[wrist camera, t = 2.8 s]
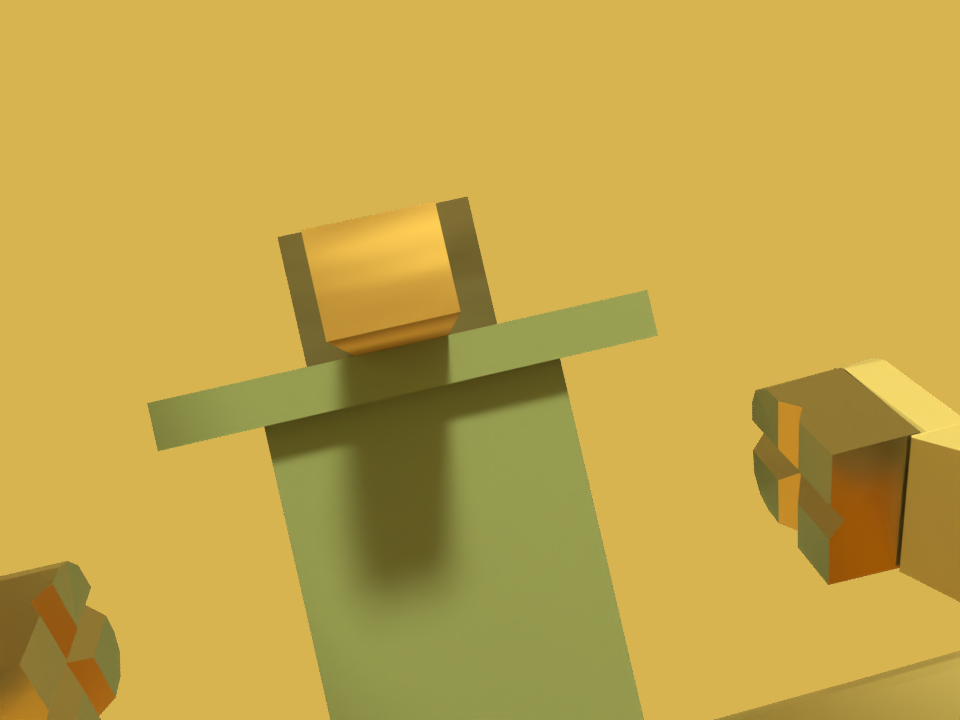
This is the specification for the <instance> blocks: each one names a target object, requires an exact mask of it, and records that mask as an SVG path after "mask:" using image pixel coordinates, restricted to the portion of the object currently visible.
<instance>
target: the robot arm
mask: <svg viewBox="0 0 960 720" xmlns="http://www.w3.org/2000/svg"><path fill="white" fill-rule="evenodd" d="M752 416H753V418H752V420H753V421H754V422H755V423H756V424H757V426H758V427H759V428H760V429H761V430H762V431H763V432H764V434H763V436H762V437H761V439H760V440H759V442H758V444H757V445H756V447H755V448H754V450H753V455H754V473H755V477H756V480H757V484H758V487H759V490H760V494H761V496H762V498H763V500H764V502H765V504H766V506H767V508H768V509H769V511H770V512H771V513H772V515H773V516H774V517H775V519H776V520H777V521H778V523H780V524H783V525H785V526H788V527H790V528H793V529H795V530H798V548H799V549H800V550H801V552H802V553H803V554H804V555H805V556H806V558H807V559H808V560H809V561H810V563H811V564H812V565H813V566H814V568H815V569H816V570H817V571H818V573H819V574H820V575H821V576H822V578H823V579H824V580H825V581H826V583H827V584H828V585H830V584H834V583H838V582H842V581H847V580H851V579H855V578H859V577H863V576H867V575H871V574H875V573H880V572H884V571H888V570H892V569H896V568H900V572H902V573H904V574H906V575H908V576H910V577H912V578H914V579H916V580H918V581H920V582H922V583H924V584H926V585H928V586H930V587H932V588H934V589H936V590H937V591H939V592H942V593H943V594H945V595H948V596H949V597H952V598H953V599H955V600H957V601H959V602H960V415H958V414H957V413H956V412H954V411H953V410H951V409H950V408H949V407H947V406H946V405H945V404H943V403H942V402H941V401H939V400H938V399H937V398H935V397H934V396H932V395H931V394H930V393H928V392H927V391H926V390H924V389H923V388H922V387H920V386H919V385H918V384H916V383H915V382H914V381H912V380H911V379H909V378H908V377H907V376H905V375H904V374H903V373H901V372H900V371H899V370H897V369H896V368H895V367H893V366H892V365H890V364H889V363H888V362H886V361H885V360H883V359H878V358H869V359H866V360H862V361H859V362H855V363H852V364H848V365H845V366H841V367H838V368H835V369H834V370H830V371H827V372H822V373H819V374H815V375H811V376H807V377H804V378H800V379H796V380H792V381H789V382H785V383H781V384H777V385H774V386H770V387H766V388H762V389H758V390H756V391H755V394H754V398H753V402H752ZM90 588H91V587H90V585H89V583H88V582H87V580H86V578H85V576H84V575H83V573H82V571H81V570H80V568H79V566H78V565H75V564H73V563H71V562H68V561H66V562H62V563H57V564H53V565H48V566H44V567H39V568H35V569H31V570H26V571H22V572H18V573H13V574H9V575H5V576H0V720H101V719H100V718H99V715H100V714H101V713H102V712H103V711H104V710H105V709H106V708H107V707H108V705H109V704H110V703H111V702H112V701H113V700H114V699H115V698H116V693H117V689H118V684H119V680H120V652H119V647H118V644H117V641H116V637H115V633H114V631H113V629H112V627H111V625H110V623H109V621H108V619H107V617H106V616H105V615H103V614H101V613H100V612H98V611H96V610H94V609H92V608H90V607H88V606H86V605H85V604H86V600H87V598H88V594H89V591H90ZM716 720H960V651H958V652H955V653H951V654H947V655H944V656H940V657H937V658H933V659H930V660H926V661H923V662H919V663H916V664H912V665H909V666H905V667H901V668H898V669H894V670H891V671H888V672H884V673H880V674H877V675H874V676H870V677H866V678H863V679H859V680H856V681H852V682H849V683H845V684H841V685H838V686H834V687H830V688H827V689H823V690H820V691H816V692H813V693H809V694H805V695H802V696H798V697H794V698H791V699H787V700H784V701H780V702H777V703H773V704H769V705H766V706H762V707H759V708H755V709H752V710H748V711H744V712H740V713H737V714H733V715H730V716H726V717H723V718H719V719H716Z"/></svg>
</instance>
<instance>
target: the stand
mask: <svg viewBox="0 0 960 720" xmlns="http://www.w3.org/2000/svg"><path fill="white" fill-rule="evenodd" d="M654 336H657V330H656V326H655V322H654V317H653V314H652V309H651V305H650V300H649V297H648V292H647V290H645V291H641V292H637V293H632V294H628V295H623V296H619V297H615V298H610V299H606V300H601V301H597V302H592V303H588V304H583V305H579V306H575V307H570V308H566V309H561V310H557V311H553V312H549V313H544V314H539V315H535V316H530V317H526V318H522V319H517V320H513V321H509V322H504V323H500V324H495V325H491V326H486V327H482V328H477V329H473V330H469V331H464V332H460V333H455V334H451V335H447V336H442V337H438V338H433V339H429V340H424V341H420V342H416V343H411V344H407V345H402V346H398V347H394V348H389V349H385V350H380V351H376V352H371V353H367V354H363V355H358V356H354V357H349V358H345V359H341V360H336V361H332V362H327V363H323V364H318V365H314V366H310V367H305V368H301V369H297V370H292V371H288V372H283V373H279V374H274V375H270V376H266V377H261V378H257V379H253V380H248V381H244V382H239V383H235V384H230V385H226V386H221V387H217V388H213V389H208V390H204V391H200V392H195V393H190V394H186V395H182V396H177V397H173V398H169V399H164V400H160V401H155V402H151V403H148V408H149V413H150V417H151V422H152V426H153V431H154V435H155V440H156V444H157V448H158V451H160V450H165V449H169V448H173V447H178V446H182V445H186V444H191V443H195V442H199V441H204V440H208V439H212V438H217V437H221V436H225V435H229V434H234V433H238V432H243V431H247V430H251V429H256V428H260V427H265V432H266V436H267V440H268V445H269V449H270V454H271V458H272V463H273V467H274V472H275V476H276V480H277V485H278V489H279V494H280V498H281V503H282V507H283V511H284V516H285V520H286V525H287V529H288V534H289V538H290V542H291V547H292V551H293V556H294V560H295V564H296V569H297V573H298V578H299V582H300V587H301V591H302V596H303V600H304V604H305V609H306V613H307V618H308V622H309V626H310V631H311V635H312V639H313V644H314V649H315V653H316V658H317V662H318V666H319V671H320V675H321V680H322V684H323V688H324V693H325V697H326V702H327V706H328V711H329V715H330V719H331V720H644V718H643V714H642V710H641V705H640V701H639V697H638V692H637V688H636V684H635V680H634V675H633V671H632V667H631V663H630V658H629V654H628V650H627V645H626V641H625V636H624V632H623V628H622V624H621V619H620V616H619V611H618V607H617V602H616V598H615V593H614V589H613V585H612V581H611V576H610V572H609V568H608V563H607V559H606V555H605V550H604V546H603V542H602V538H601V533H600V529H599V525H598V521H597V516H596V512H595V507H594V503H593V499H592V495H591V490H590V486H589V482H588V478H587V473H586V469H585V465H584V460H583V456H582V452H581V447H580V443H579V439H578V434H577V430H576V426H575V422H574V417H573V413H572V409H571V405H570V400H569V396H568V392H567V387H566V383H565V379H564V375H563V370H562V366H561V361H560V358H563V357H567V356H572V355H576V354H580V353H585V352H589V351H593V350H598V349H602V348H606V347H611V346H615V345H619V344H623V343H628V342H632V341H636V340H641V339H645V338H650V337H654Z"/></svg>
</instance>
